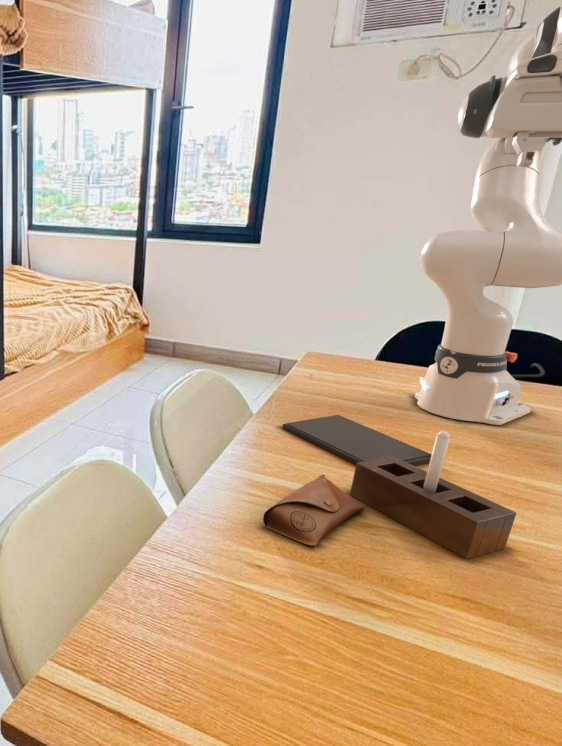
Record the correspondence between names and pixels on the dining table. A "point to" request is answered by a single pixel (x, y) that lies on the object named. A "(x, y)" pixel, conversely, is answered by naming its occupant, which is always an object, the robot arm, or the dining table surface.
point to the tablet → (354, 440)
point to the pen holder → (433, 507)
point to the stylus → (436, 461)
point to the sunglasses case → (311, 512)
